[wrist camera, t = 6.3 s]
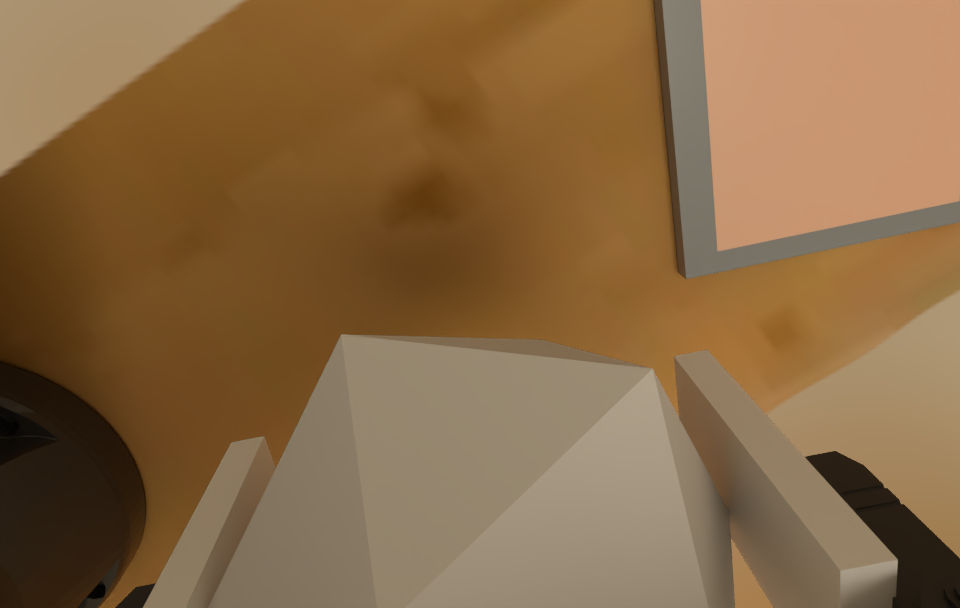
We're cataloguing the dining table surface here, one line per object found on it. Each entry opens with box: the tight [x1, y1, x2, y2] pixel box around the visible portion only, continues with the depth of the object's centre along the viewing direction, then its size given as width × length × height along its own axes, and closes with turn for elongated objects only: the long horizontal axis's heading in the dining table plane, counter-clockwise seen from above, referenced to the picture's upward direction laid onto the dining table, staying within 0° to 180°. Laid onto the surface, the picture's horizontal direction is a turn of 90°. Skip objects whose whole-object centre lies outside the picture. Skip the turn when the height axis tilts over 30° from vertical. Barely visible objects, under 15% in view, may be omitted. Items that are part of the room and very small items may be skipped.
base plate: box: [654, 0, 960, 279], centre depth 28 cm, size 14×14×1 cm
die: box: [208, 334, 735, 608], centre depth 12 cm, size 8×9×10 cm
